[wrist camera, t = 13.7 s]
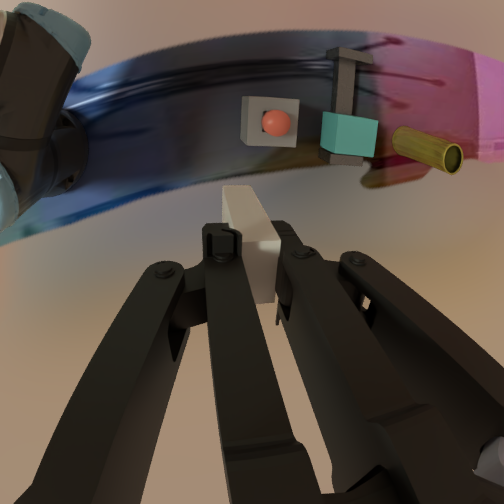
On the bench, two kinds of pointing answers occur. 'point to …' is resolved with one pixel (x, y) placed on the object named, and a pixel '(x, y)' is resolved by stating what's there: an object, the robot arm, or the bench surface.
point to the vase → (428, 149)
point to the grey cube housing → (253, 115)
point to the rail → (344, 95)
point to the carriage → (348, 134)
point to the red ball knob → (275, 122)
